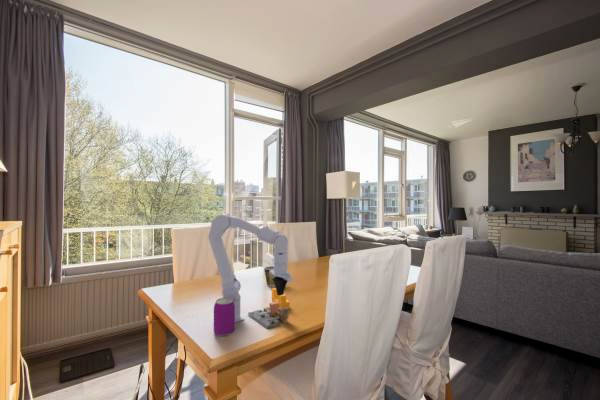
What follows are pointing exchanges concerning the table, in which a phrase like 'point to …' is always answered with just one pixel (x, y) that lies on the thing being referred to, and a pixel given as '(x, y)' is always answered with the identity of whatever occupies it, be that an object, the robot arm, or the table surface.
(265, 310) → the trammel bar
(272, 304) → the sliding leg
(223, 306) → the beverage can
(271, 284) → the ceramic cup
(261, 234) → the robot arm
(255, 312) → the strip
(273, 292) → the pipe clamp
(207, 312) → the table surface
